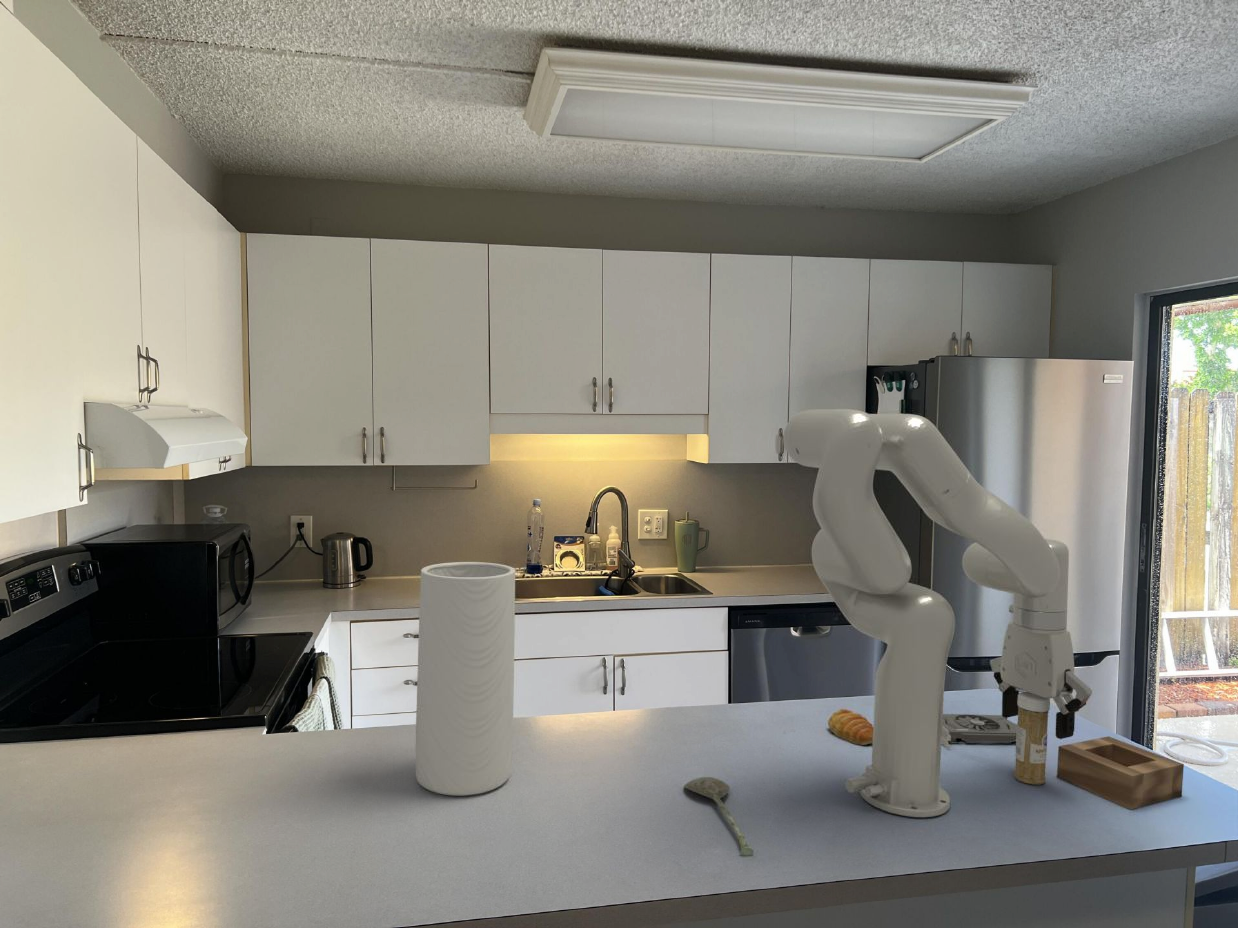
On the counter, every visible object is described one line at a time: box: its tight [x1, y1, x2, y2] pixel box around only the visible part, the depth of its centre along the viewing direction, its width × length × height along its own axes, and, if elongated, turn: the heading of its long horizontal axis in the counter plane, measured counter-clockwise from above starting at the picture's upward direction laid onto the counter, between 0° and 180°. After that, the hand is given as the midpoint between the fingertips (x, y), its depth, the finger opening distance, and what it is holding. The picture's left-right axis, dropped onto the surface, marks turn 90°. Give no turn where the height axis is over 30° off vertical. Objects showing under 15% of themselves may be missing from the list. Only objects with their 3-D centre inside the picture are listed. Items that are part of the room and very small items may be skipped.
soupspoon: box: [683, 776, 755, 857], centre depth 116 cm, size 22×3×7 cm
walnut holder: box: [1056, 736, 1185, 811], centre depth 130 cm, size 12×12×5 cm
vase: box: [414, 561, 516, 797], centre depth 125 cm, size 14×14×32 cm
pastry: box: [827, 708, 873, 746], centre depth 148 cm, size 9×7×4 cm
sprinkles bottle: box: [1013, 691, 1051, 785], centre depth 131 cm, size 5×5×14 cm
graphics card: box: [941, 713, 1017, 751], centre depth 149 cm, size 17×4×12 cm
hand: (1036, 726), depth 132 cm, fingers open, 9 cm apart
